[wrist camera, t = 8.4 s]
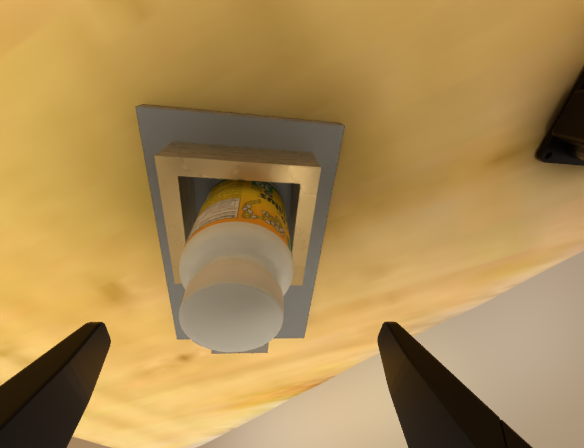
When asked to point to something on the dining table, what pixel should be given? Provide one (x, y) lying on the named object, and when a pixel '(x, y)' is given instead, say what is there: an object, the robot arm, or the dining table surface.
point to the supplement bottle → (236, 267)
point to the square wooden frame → (238, 166)
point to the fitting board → (219, 131)
